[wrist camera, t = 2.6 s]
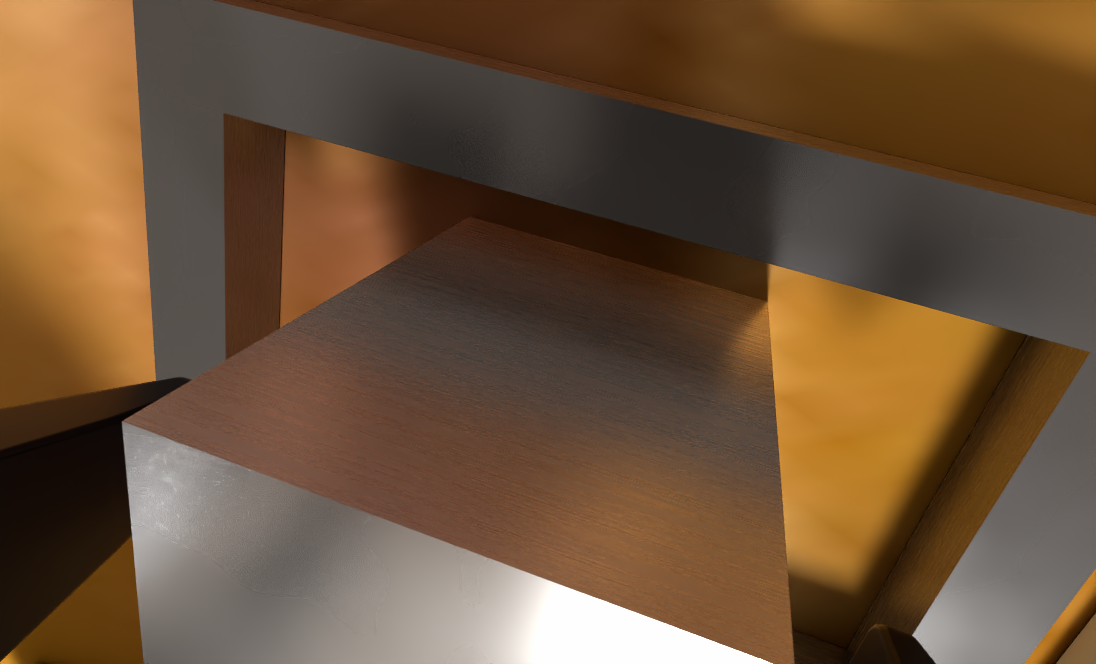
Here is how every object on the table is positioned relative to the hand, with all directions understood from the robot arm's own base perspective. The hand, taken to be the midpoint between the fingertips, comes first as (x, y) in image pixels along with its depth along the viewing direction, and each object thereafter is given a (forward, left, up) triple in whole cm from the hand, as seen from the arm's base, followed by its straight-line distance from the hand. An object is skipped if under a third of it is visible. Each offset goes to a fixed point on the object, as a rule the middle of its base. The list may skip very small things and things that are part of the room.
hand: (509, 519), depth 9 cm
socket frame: (0, 0, -4) cm, 4 cm away
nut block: (0, 0, -4) cm, 4 cm away
